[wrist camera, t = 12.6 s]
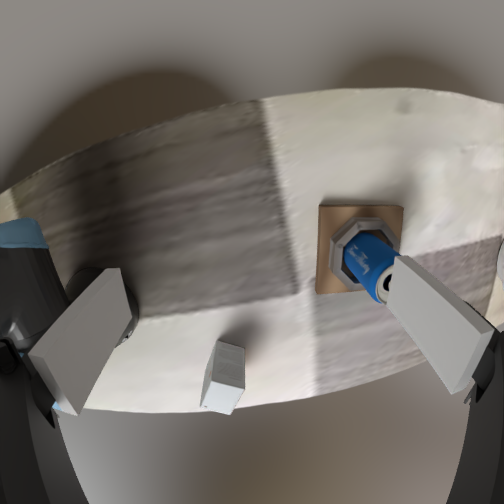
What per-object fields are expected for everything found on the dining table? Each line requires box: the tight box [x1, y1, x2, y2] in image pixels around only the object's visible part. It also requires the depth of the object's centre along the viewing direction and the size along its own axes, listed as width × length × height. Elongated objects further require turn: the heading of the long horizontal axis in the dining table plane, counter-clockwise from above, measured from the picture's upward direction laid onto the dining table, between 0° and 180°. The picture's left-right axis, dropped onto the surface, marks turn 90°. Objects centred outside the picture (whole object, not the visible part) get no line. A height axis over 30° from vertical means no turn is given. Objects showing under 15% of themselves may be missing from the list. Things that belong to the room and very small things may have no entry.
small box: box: [200, 341, 245, 415], centre depth 45 cm, size 8×6×10 cm
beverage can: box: [343, 233, 402, 305], centre depth 35 cm, size 6×6×12 cm
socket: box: [315, 205, 404, 294], centre depth 41 cm, size 14×14×4 cm
